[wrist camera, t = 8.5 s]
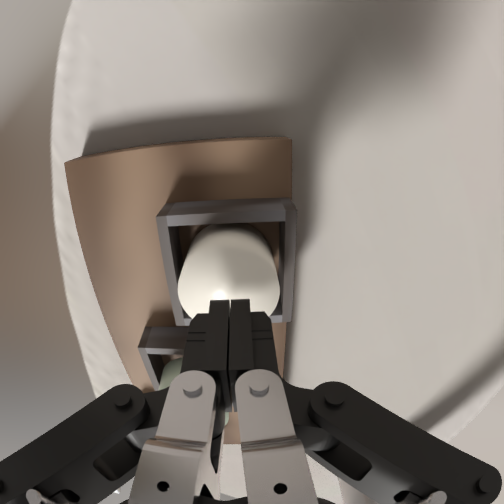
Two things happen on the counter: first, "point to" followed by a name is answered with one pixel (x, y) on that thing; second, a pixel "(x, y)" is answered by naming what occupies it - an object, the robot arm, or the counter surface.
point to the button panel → (176, 236)
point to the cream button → (229, 269)
